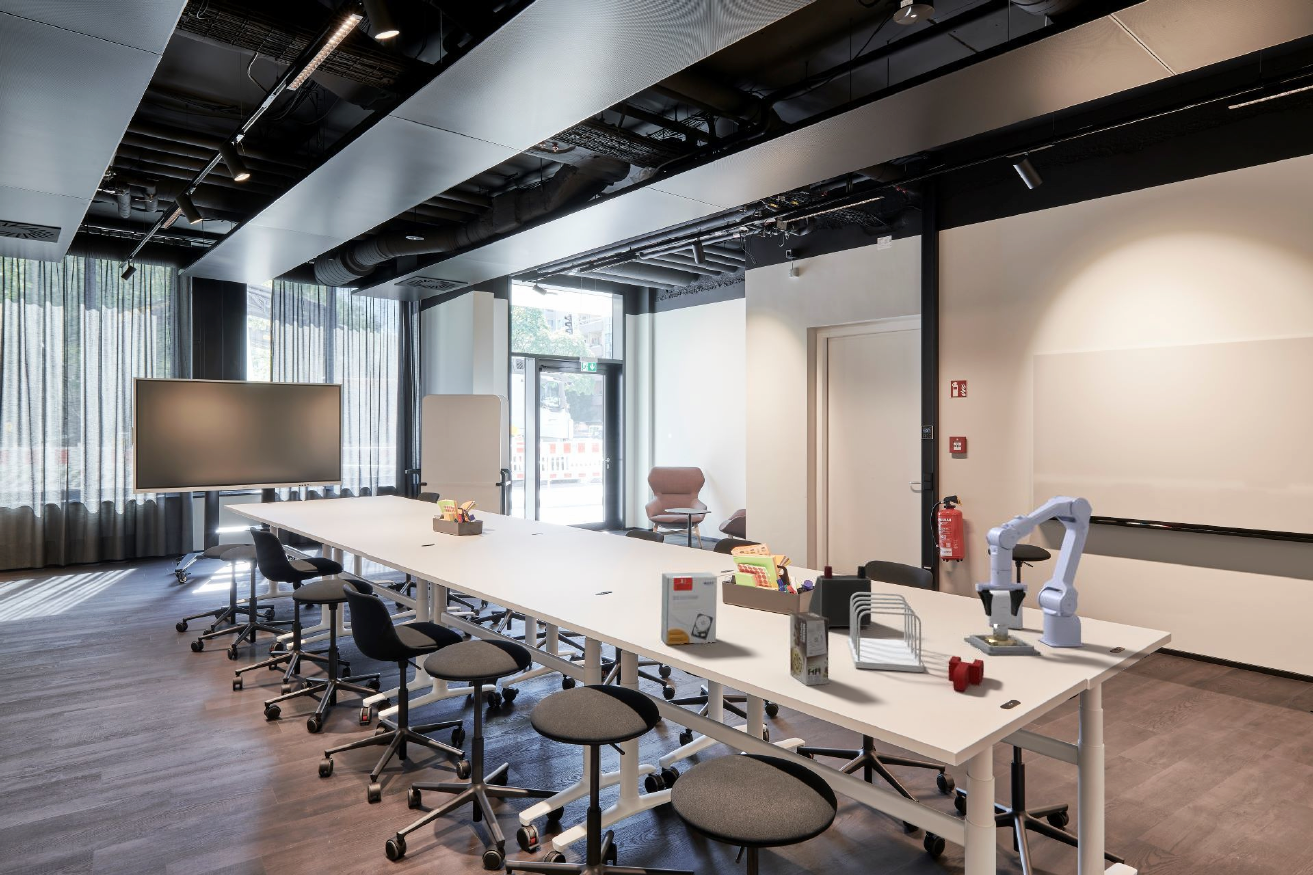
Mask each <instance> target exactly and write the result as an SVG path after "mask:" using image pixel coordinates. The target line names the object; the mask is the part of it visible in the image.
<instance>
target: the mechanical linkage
mask: <svg viewBox="0 0 1313 875" xmlns="http://www.w3.org/2000/svg"><path fill="white" fill-rule="evenodd" d="M973 660H974V661H973V662H966V661H962V658H961V656H956V655H952V657H950V659H949V660H948V681H949V682H953V683H952V687H953V691H959V692H966V690H967V689H968V686H969V685H971V686H979V687H980V686H981V683H982V681H983V679H984V675H985V674H984V673H985V672H984V671H985V663H984V660H981V659H973Z"/></svg>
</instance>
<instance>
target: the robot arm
mask: <svg viewBox="0 0 1313 875" xmlns="http://www.w3.org/2000/svg"><path fill="white" fill-rule="evenodd" d="M1092 512H1093V508H1092V506H1091V504H1090V503H1089V501H1088V499H1086V498H1084V497H1073V496H1064V495H1055V496H1053V497H1052V498H1049V499H1047V502H1046V503H1045V504H1043V505H1041V506H1040V507H1039V508H1037V509H1035V510H1034V511H1032V512H1031V513H1029V514H1028V515H1022V514H1021V515H1018V514H1016V515H1015V516H1014V518H1013V519H1011V520H1010V521H1008V522H1003V523H1002V524H1001V525H1000V527H997V526H996V527H992V528H991V529H990V530H989V531H988V532H987V536H985V541H986V542H987V544H988V545H989V551H990V582H989V581H988V582H981V583H979V582H977V583H975V585H974V586H975V588H974V589H975V591H977V595H978V596H979V598H980V600H981V602H982V606H983V610H984V613H985V615H986V616H987V617H988V616H991V614H992V607H991V606H992V599H993V594H991V592H990V591H1009V593H1010V599H1011V615H1013V616H1017V614H1018V610H1019V607H1020V605H1021V603H1022V604H1023V600H1024V599H1025V598H1026V596H1027V594H1026V593H1027V592H1028V584H1027V583H1019V582H1013V549H1014V548H1015V547H1016V545H1017V544H1018V541H1020V540H1021V539H1023V538H1024V537H1026V536H1028V535H1030V534H1031V533H1033V532H1034V530H1035V527H1036V526H1037V525H1040V524H1042V523H1043V522H1045V521H1048V520H1049V519H1052V518H1054V517H1055V518H1057V520H1059V522H1060V523H1062V524H1063V525H1064V527H1065V529H1066V531H1065V534H1064V538H1063V541H1062V545H1061V547H1060V551H1059V554H1058V558H1057V561H1056V565H1055V567H1054V571H1053V574H1052V575H1053V576H1052V578H1050V579H1049V580H1048V581H1046V582H1044V584H1043V586H1042V588H1041V590H1040V591H1039V592H1038V594H1037V604H1038V605H1039V607H1041V611H1042V612H1043V622H1042V623H1043V624H1042V625H1043V633H1042V634H1043V637H1037V639H1036V640H1038V641H1040V642H1041V643H1042V644H1043V643H1044V644H1046V645H1047V646H1050V647H1052V648H1055V647H1057V648H1058V647H1059V648H1060V647H1061V648H1062V647H1065V648H1066V647H1067V648H1068V647H1077V648H1078V647H1083V645H1084V644H1082V622H1081V620H1080V617H1079V615H1077V614H1075V613H1076V611H1077V609H1078V596H1079V592H1078V591H1077V589H1076V588H1075V586H1074V585H1073V584H1074V580H1075V578H1076V575H1077V571H1078V567H1079V565H1080V560H1081V557H1082V554H1083V550H1084V547H1085V544H1086V540H1087V536H1088V533H1089V530H1090V519H1091V515H1092Z"/></svg>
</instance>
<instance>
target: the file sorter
mask: <svg viewBox="0 0 1313 875" xmlns="http://www.w3.org/2000/svg"><path fill="white" fill-rule="evenodd" d="M858 594H865V595H871V597H858V598H856V599H854V600H853V602H852V599H853V597H854V596H855V595H858ZM872 596H889V597H872ZM891 596H892V597H891ZM893 596H894V597H895V598H894V597H893ZM896 597H897V598H896ZM860 599H865V600H871V601H861V602H858V603H856V604H855V605H854V602H855V601H857V600H860ZM859 604H871V606H862V607H860V608H858V609H857V610H856V612H855V608H856V606H857V605H859ZM853 605H854V607H853ZM872 605H873V606H872ZM882 605H883V606H882ZM884 605H885V606H884ZM886 605H888V606H886ZM890 605H903V606H890ZM864 608H871V609H875V610H871V611H865V612H863V613H861V614H860V616H859V618H858V626H857V613H858V611H859V610H861V609H864ZM876 609H877V610H878V609H881V610H883V609H884V610H886V609H887V610H904V612H900V611H899V612H897V611H884V610H883V611H881V610H880V611H879V610H878V611H877V610H876ZM866 613H871V614H875V615H876V614H880V615H893V616H895V615H898V616H904V621H903V624H904V626H903V627H904V628H903V640H901V639H900V640H899V639H898V640H897V639H884V638H883V639H882V638H869V637H868V638H866V637H861V629H860V619H861V617H862V616H863V615H864V614H866ZM917 621H918V645H917ZM846 639H847V641H846V642H847V646H848V648H849V652H850V655H851V658H852V660H853V664H854V668H857V669H868V670H871V669H872V670H887V671H899V672H901V671H902V672H911V673H912V672H913V673H924V672H925V666H924V664H923V663H922V660H921V659H922V622H921V618H920V617H919V616H918V615H917V614H916V613H915V611H914V609H912V608H911V606H910V605H909V603H908V602H907V600H906V598H905V596H903V595H902V594H899V593H887V592H885V593H884V592H871V593H869V592H857V593H854V594H853V595H852V596H851V599H850V626H849V637H848V636H847V638H846ZM917 646H918V650H917ZM913 647H914V648H913ZM917 651H918V654H917Z"/></svg>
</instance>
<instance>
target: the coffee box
mask: <svg viewBox="0 0 1313 875" xmlns="http://www.w3.org/2000/svg"><path fill="white" fill-rule="evenodd" d="M789 616H790V617H789V620H790V621H789V623H790V624H789V627H790V628H789V630H790V631H789V633H790V634H789V638H790V639H789V640H790V642H789V644H790V645H789V647H790V648H789V649H790V652H789V653H790V656H789V657H790V667H789V668H790V672H789V673H790V676H791V675H792V676H791V677H793V678H795V679H796V680H798V682H801V683H802V684H803V685H805V686H807V685H808V686H817V684H818V685H827V684H829V629H830V628H829V619H827V618H825V617H823V616H821V615H818V614H816V613H814V612H811V611H809V610H808V611H799V612H790V613H789Z"/></svg>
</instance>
